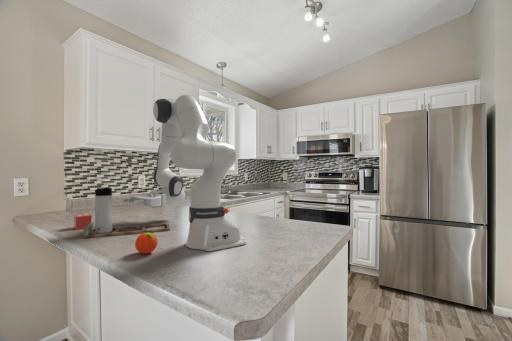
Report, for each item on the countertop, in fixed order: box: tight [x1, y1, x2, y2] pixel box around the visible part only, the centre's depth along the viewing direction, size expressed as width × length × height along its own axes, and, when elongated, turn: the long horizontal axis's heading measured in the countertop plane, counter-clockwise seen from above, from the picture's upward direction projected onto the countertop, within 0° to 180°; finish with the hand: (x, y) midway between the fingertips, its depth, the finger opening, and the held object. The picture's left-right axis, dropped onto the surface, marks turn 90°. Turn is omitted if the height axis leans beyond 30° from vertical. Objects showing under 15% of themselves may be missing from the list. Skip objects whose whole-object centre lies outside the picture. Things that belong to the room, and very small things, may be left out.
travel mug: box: [94, 187, 113, 234], centre depth 108 cm, size 6×7×20 cm
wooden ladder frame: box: [83, 221, 171, 239], centre depth 112 cm, size 33×12×4 cm, turn 113°
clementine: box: [134, 232, 158, 255], centre depth 83 cm, size 8×7×7 cm
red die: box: [73, 213, 92, 231], centre depth 118 cm, size 6×6×6 cm
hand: (128, 202), depth 116 cm, fingers open, 8 cm apart
